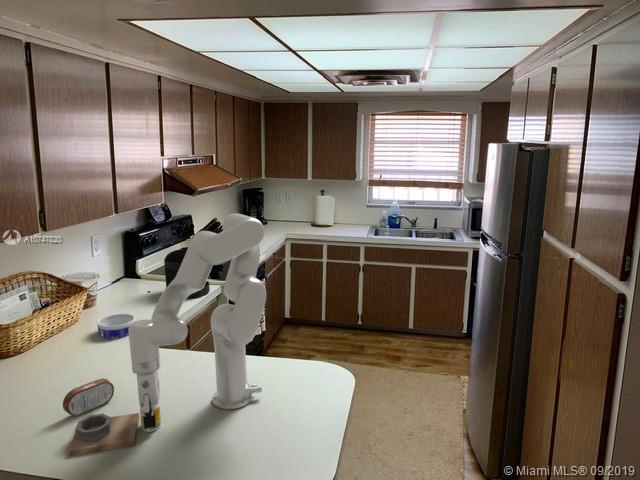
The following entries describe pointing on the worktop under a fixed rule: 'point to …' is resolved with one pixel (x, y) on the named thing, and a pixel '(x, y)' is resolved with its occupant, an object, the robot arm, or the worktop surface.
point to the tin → (88, 397)
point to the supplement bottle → (157, 416)
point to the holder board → (112, 439)
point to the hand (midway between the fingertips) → (151, 420)
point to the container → (172, 268)
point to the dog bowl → (115, 326)
